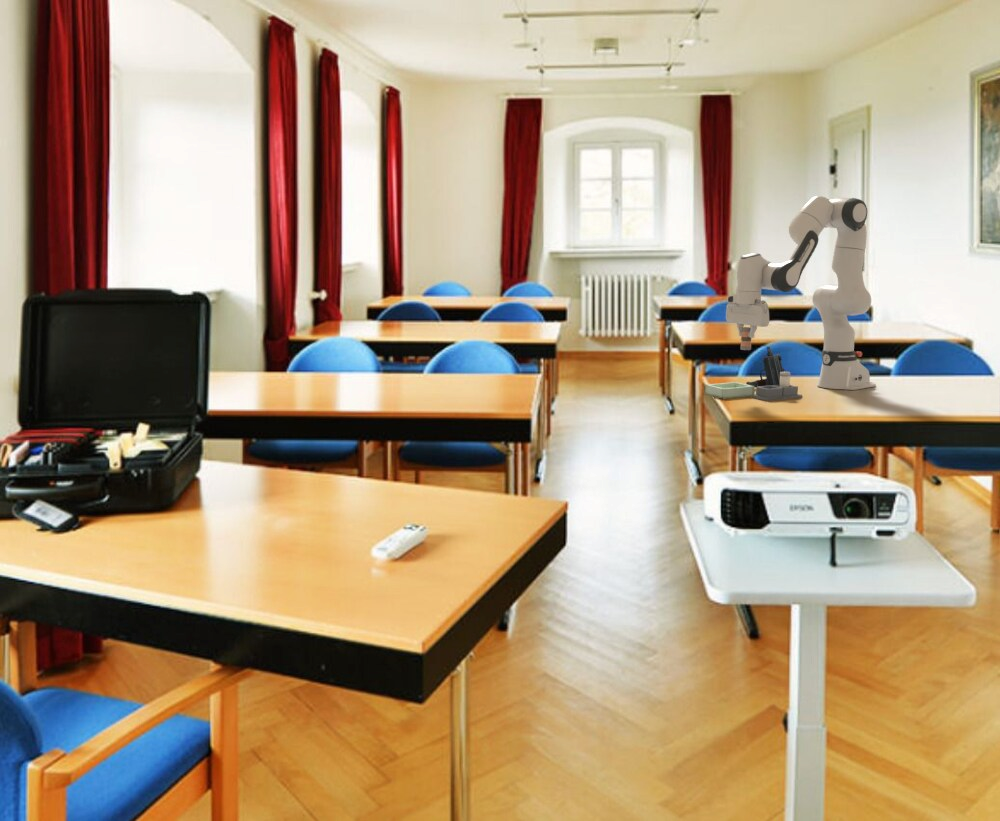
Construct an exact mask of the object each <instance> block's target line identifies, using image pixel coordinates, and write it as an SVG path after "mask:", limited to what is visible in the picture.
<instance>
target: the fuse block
mask: <svg viewBox="0 0 1000 821" xmlns="http://www.w3.org/2000/svg"><path fill="white" fill-rule="evenodd" d="M798 388H799V386H796V385H793V384H792V385H791V384H790V387H780V385H772V386H771V385H770V386H759V387H755V393H754V394H753V395H751V396H750V397H751V398H753V399H757V400H760V401H765V402H772V401H782V400H791V399H802V398H803V394H800V393H799V392H798Z"/></svg>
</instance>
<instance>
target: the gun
mask: <svg viewBox="0 0 1000 821" xmlns="http://www.w3.org/2000/svg"><path fill="white" fill-rule="evenodd" d="M766 350H767V352H766V355H767V356H765V357H763V359H762V365H763V367H764V368H763V369H761V370H759V377H760V379H757V380H755V381H746V383H745V384H747V385H751V386H755V387H754V389H756V387H759V386H770V385H771V386H772V385H780V372H786V371H785V369H784V367H783V365H782V361H783V360H782V356H781V355H780V354H779V353H778V354H773V351H772V349H771V347H770V346H766ZM763 371H764V373H765V374H762V372H763ZM763 377H765V378H763Z"/></svg>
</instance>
